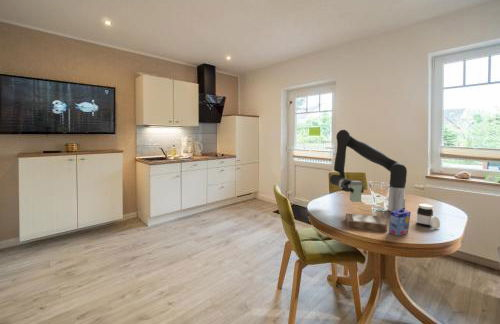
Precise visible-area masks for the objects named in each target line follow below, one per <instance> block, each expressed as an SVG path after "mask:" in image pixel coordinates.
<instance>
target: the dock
mask: <svg viewBox="0 0 500 324" xmlns="http://www.w3.org/2000/svg"><path fill="white" fill-rule="evenodd" d="M345 222H346V226H347V229H356V230H363V231H364V230H366V231H373V232H374V231H375V232H376V231H377V232H387V230H388V224H387V223H386V220H385V219H384V218H383V216H381V215H373V214H372V215H370V214H358V213H357V214H356V213H347V212H346V214H345Z"/></svg>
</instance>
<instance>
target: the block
mask: <svg viewBox="0 0 500 324" xmlns="http://www.w3.org/2000/svg"><path fill="white" fill-rule="evenodd" d="M362 186H363V181H360V180H351V188H352V189H354V193H352V192H349V200H350V201H351V202H352V203H359V202H360V203H361V202H362V193H361V190H362Z"/></svg>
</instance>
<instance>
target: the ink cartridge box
mask: <svg viewBox="0 0 500 324" xmlns="http://www.w3.org/2000/svg"><path fill="white" fill-rule="evenodd" d="M406 208H407V207H406V206H405V208H402V209H399V210H395V211H391V212H390V213H389V215H390V216H389V226H388V233H389V234H391V235H394V236H396V237H398V236H402V235H406V234H409V228H410V220H411V211H410V210H407V209H406Z"/></svg>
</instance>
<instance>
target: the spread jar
mask: <svg viewBox="0 0 500 324" xmlns="http://www.w3.org/2000/svg"><path fill="white" fill-rule="evenodd" d="M433 208H434V206H433V205H431V204H428V203H419V204H418V208H417V211H416V224H417V225H419V226H422V227H427V228H428V227H429V228H432V229H434V230H438V229H440V228H441V222H440V219H439V217H437V216H434V210H433Z"/></svg>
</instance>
